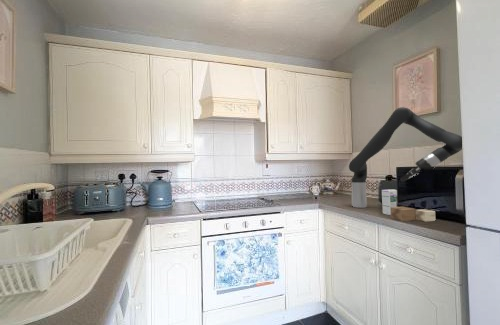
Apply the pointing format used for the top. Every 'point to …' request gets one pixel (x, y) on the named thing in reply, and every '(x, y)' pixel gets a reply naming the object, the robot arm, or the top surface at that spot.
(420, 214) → the birch block
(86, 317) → the top surface
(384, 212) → the syrup box
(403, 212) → the walnut block
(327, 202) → the top surface
